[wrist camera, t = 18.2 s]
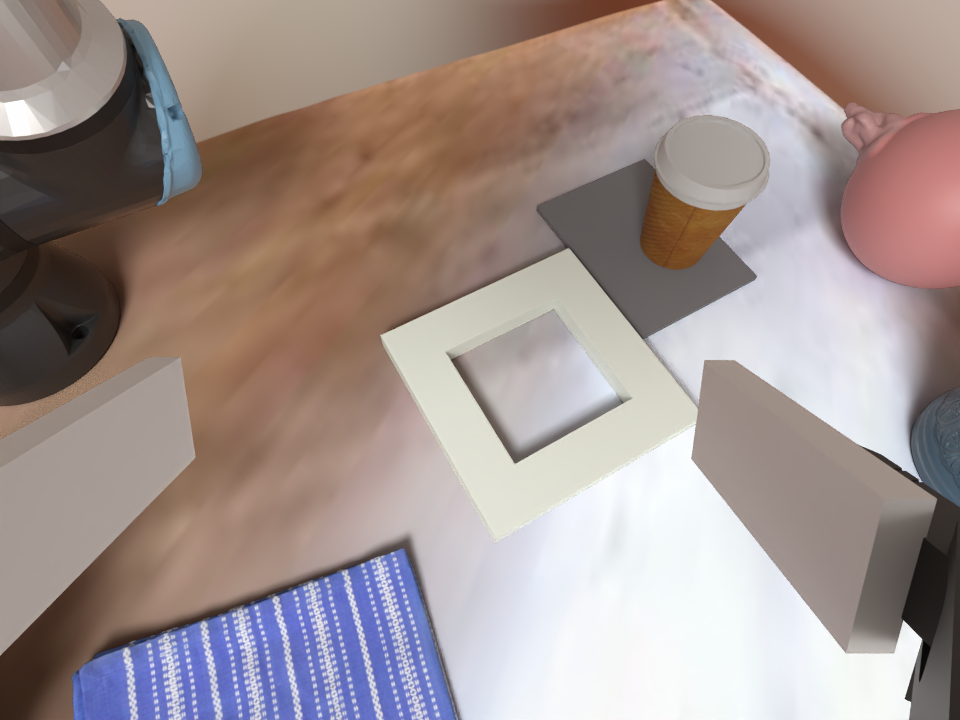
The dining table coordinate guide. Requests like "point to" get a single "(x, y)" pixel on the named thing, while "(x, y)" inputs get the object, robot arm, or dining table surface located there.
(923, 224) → the balloon
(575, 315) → the holder board
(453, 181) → the dining table surface
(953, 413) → the canister
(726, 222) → the disposable coffee cup
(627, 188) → the rubber mat
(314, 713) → the dish towel
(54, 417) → the robot arm
